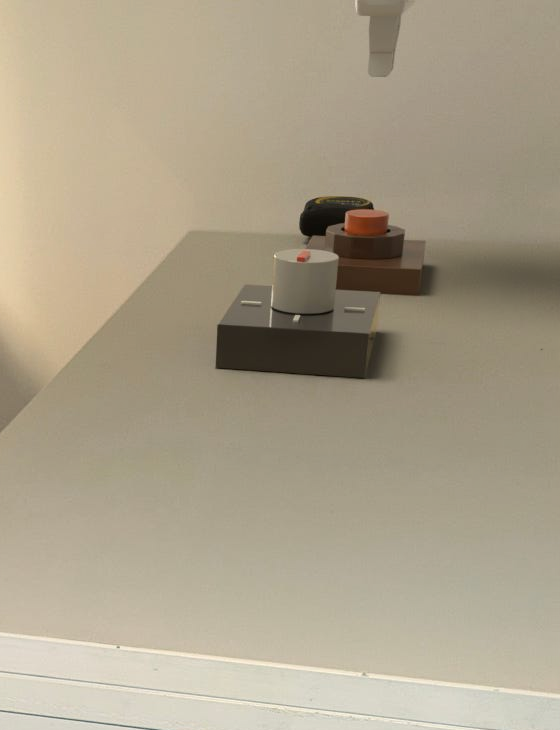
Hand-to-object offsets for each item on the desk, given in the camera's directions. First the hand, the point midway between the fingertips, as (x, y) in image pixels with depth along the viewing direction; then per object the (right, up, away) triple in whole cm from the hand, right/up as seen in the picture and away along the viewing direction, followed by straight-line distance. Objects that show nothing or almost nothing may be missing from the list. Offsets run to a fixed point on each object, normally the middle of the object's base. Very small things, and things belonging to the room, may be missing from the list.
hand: (380, 74), depth 105 cm
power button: (0, -11, +6) cm, 13 cm away
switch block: (0, -14, +8) cm, 16 cm away
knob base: (-9, -25, -13) cm, 29 cm away
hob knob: (-9, -22, -14) cm, 28 cm away
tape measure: (+1, -7, +21) cm, 22 cm away
